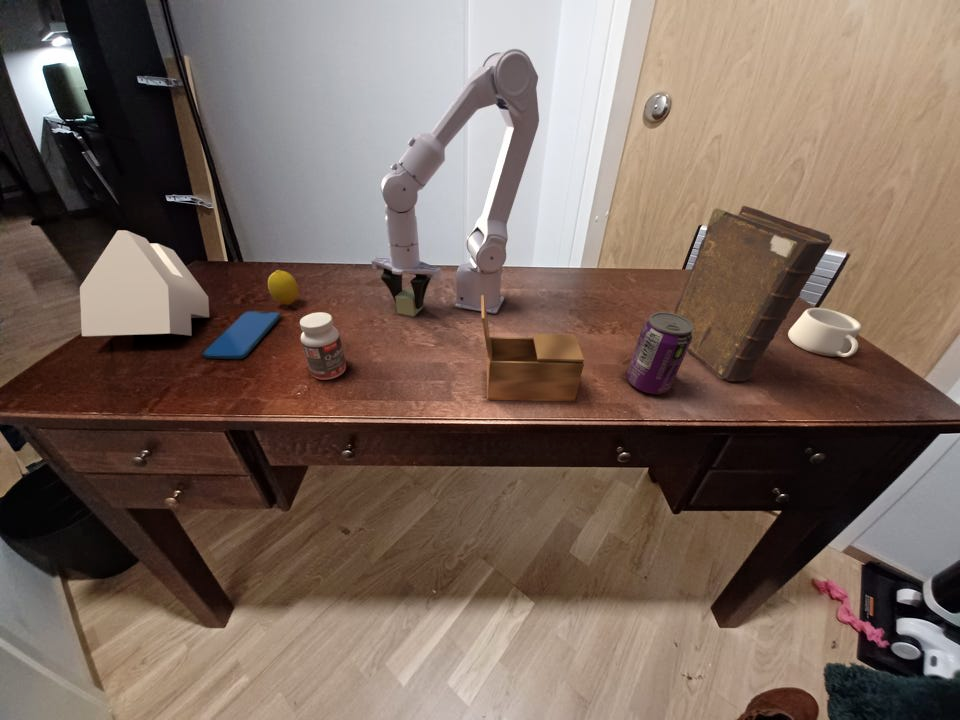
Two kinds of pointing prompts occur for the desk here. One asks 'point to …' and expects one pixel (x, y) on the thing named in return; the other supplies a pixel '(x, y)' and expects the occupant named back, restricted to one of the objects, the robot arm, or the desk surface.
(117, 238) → the white house-shaped piece
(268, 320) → the smartphone
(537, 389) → the carton
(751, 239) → the book
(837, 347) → the mug
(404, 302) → the block
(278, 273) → the lemon
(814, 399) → the desk surface
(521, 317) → the desk surface
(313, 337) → the pill bottle
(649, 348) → the beverage can
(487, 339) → the flap
